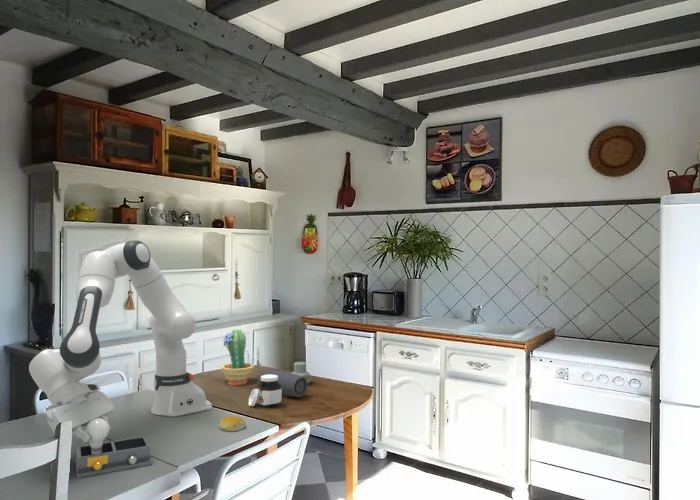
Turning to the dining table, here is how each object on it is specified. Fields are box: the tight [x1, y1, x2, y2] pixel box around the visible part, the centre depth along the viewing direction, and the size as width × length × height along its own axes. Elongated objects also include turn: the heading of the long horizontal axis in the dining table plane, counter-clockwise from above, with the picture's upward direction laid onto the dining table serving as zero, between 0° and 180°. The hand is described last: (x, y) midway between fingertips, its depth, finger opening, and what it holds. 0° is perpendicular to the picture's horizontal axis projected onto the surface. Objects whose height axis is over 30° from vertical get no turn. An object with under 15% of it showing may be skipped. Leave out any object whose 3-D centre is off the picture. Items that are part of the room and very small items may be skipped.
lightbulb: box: [83, 418, 110, 455], centre depth 144 cm, size 6×6×11 cm
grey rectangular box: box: [75, 435, 153, 479], centre depth 146 cm, size 19×12×4 cm, turn 120°
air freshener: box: [291, 361, 312, 384], centre depth 239 cm, size 11×8×10 cm
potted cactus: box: [221, 329, 255, 386], centre depth 241 cm, size 15×15×25 cm
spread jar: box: [248, 374, 283, 409], centre depth 204 cm, size 12×11×12 cm
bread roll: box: [218, 415, 246, 432], centre depth 177 cm, size 8×9×4 cm
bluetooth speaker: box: [258, 368, 309, 398], centre depth 221 cm, size 23×9×10 cm, turn 50°
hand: (98, 435), depth 144 cm, fingers closed on lightbulb, 6 cm apart
